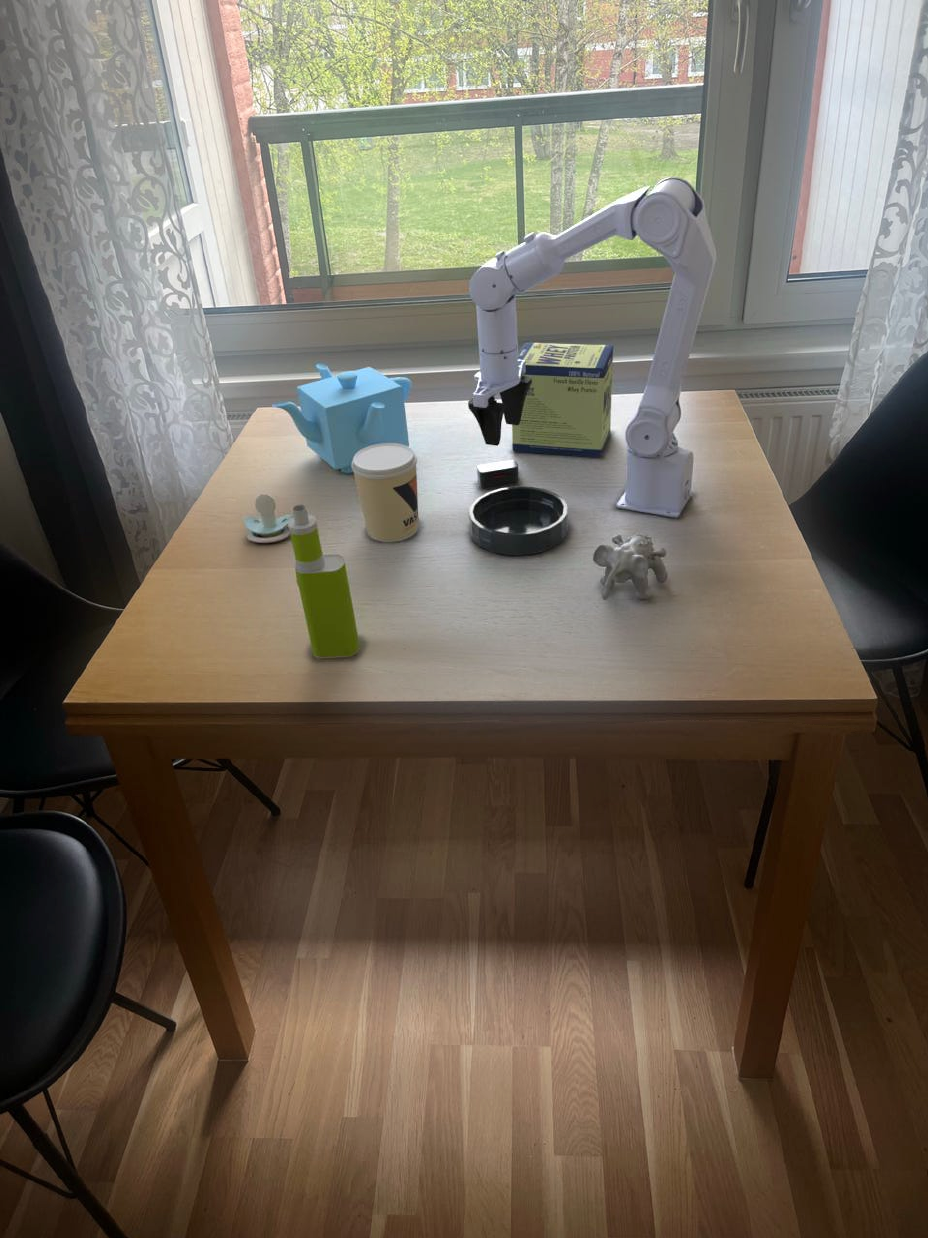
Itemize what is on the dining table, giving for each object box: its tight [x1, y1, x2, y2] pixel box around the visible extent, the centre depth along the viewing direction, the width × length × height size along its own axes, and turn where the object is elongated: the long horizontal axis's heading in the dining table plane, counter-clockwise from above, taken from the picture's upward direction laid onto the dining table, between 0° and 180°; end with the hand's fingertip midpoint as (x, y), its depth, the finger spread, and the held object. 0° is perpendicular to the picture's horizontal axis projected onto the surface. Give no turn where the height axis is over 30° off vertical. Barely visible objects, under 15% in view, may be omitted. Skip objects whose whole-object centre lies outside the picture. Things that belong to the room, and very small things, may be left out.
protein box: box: [511, 342, 614, 459], centre depth 150 cm, size 10×16×16 cm
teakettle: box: [271, 363, 413, 474], centre depth 151 cm, size 19×19×15 cm
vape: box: [287, 504, 360, 659], centre depth 106 cm, size 4×6×20 cm, turn 90°
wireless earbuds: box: [476, 459, 520, 490], centre depth 144 cm, size 5×7×3 cm, turn 102°
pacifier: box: [243, 493, 294, 544], centre depth 134 cm, size 7×6×6 cm
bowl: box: [468, 485, 569, 556], centre depth 131 cm, size 14×14×4 cm
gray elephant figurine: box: [592, 532, 669, 601], centre depth 114 cm, size 9×12×8 cm
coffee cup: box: [352, 443, 419, 543], centre depth 131 cm, size 9×9×12 cm
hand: (502, 433), depth 139 cm, fingers open, 7 cm apart
